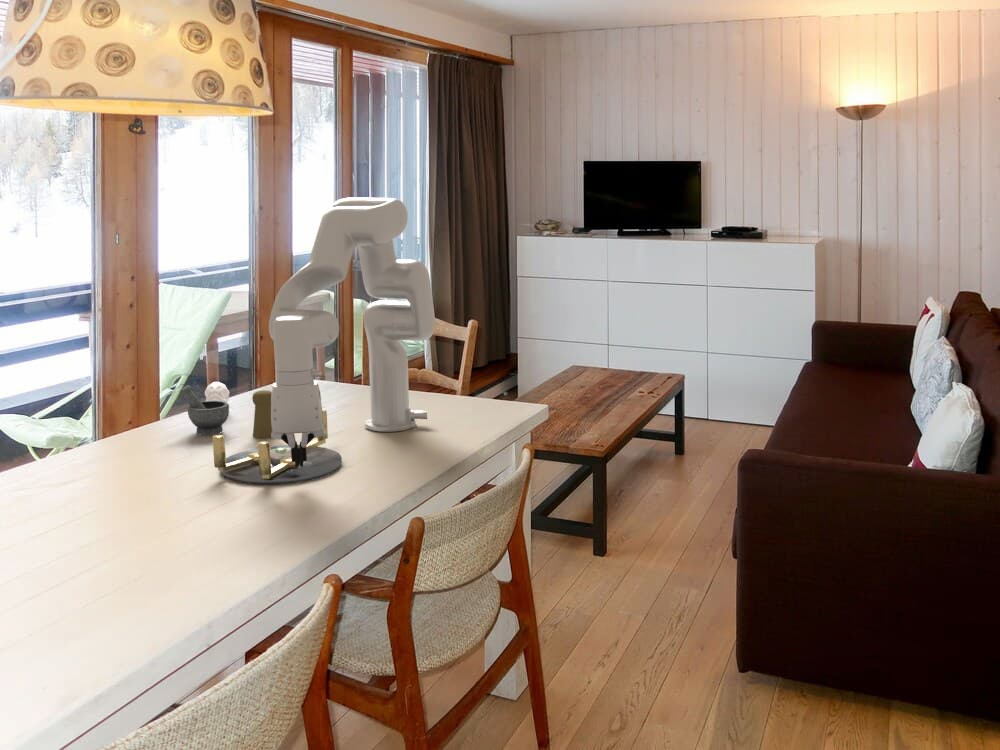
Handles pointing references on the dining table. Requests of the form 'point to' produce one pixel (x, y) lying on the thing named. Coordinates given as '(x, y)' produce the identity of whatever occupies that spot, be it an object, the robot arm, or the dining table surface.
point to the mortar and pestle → (205, 413)
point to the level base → (313, 468)
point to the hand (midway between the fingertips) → (299, 464)
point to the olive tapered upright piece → (262, 414)
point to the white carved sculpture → (217, 392)
